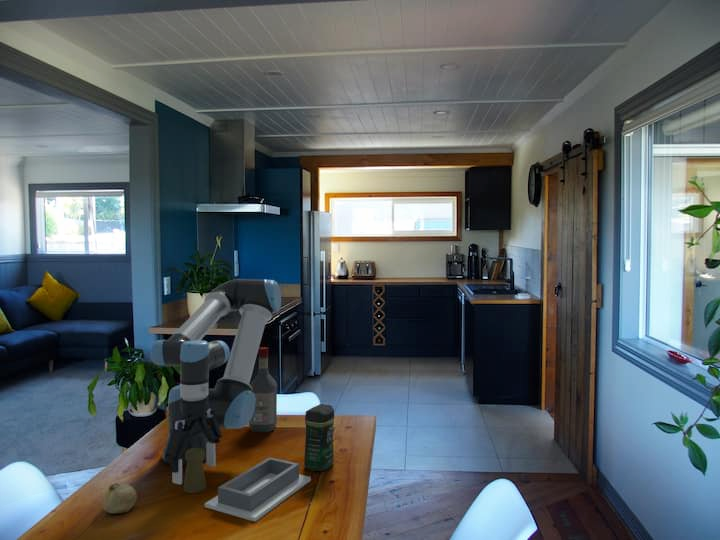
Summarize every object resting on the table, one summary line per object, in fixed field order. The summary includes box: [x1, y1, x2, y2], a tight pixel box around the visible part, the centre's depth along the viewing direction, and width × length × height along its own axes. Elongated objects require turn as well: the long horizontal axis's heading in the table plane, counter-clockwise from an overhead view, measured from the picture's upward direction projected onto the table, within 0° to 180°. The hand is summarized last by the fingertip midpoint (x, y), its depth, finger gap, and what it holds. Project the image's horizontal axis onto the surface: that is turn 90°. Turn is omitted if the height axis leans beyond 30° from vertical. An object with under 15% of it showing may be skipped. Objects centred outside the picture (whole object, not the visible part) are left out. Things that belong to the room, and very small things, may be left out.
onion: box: [101, 482, 138, 515], centre depth 134 cm, size 8×8×7 cm
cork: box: [183, 448, 207, 494], centre depth 146 cm, size 6×6×11 cm
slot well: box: [204, 457, 312, 523], centre depth 144 cm, size 26×16×5 cm, turn 154°
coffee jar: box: [303, 403, 335, 472], centre depth 162 cm, size 10×8×19 cm
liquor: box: [248, 346, 278, 433], centre depth 196 cm, size 9×9×30 cm
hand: (194, 474), depth 146 cm, fingers open, 12 cm apart
